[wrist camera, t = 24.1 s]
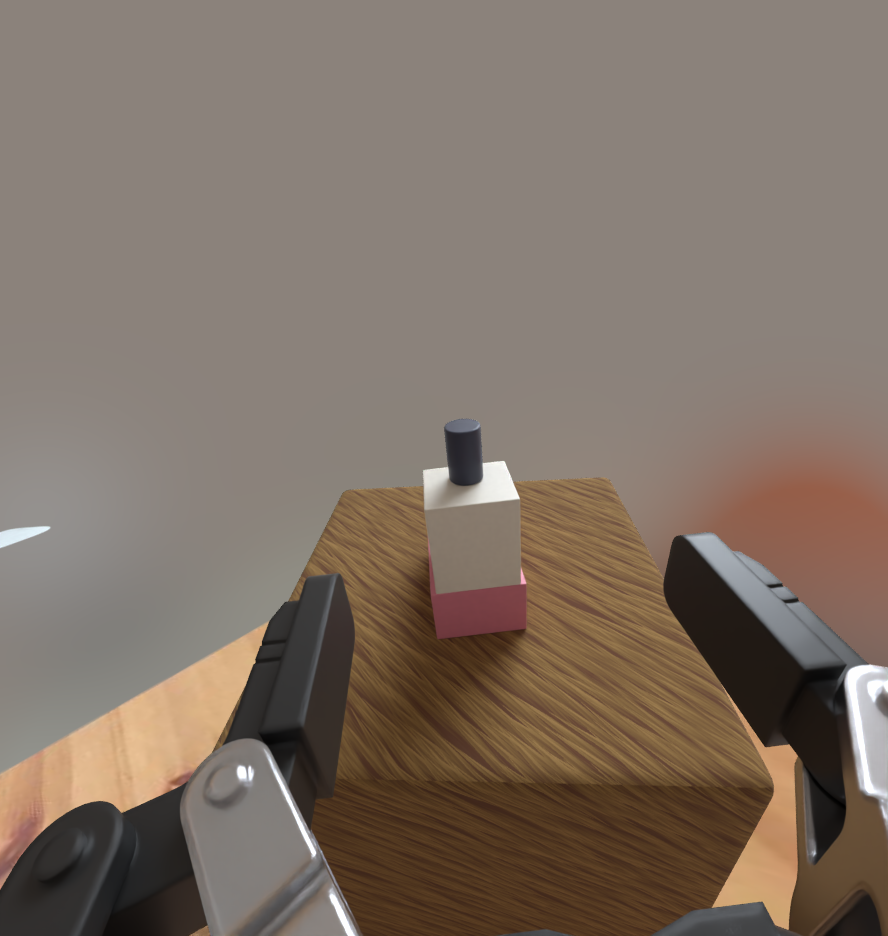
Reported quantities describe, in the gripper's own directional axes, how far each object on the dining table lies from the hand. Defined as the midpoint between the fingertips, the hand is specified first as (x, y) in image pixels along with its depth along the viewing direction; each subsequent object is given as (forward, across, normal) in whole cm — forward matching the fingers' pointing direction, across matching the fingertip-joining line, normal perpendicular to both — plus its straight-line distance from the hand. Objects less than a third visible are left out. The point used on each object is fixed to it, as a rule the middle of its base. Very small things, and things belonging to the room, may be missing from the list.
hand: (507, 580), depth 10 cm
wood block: (+14, 0, +38) cm, 41 cm away
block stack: (+14, 0, +13) cm, 19 cm away
